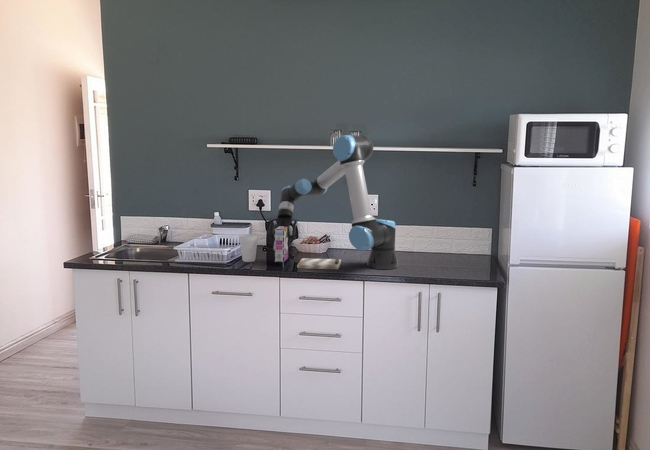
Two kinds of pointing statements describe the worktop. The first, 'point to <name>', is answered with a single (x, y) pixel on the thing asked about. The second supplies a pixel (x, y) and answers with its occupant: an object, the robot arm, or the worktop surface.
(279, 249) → the candy bar box
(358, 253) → the worktop surface
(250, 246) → the foam cup
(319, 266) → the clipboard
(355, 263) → the worktop surface
